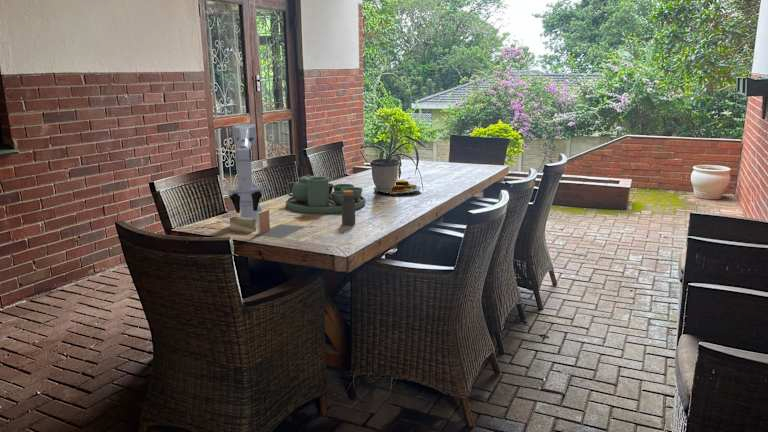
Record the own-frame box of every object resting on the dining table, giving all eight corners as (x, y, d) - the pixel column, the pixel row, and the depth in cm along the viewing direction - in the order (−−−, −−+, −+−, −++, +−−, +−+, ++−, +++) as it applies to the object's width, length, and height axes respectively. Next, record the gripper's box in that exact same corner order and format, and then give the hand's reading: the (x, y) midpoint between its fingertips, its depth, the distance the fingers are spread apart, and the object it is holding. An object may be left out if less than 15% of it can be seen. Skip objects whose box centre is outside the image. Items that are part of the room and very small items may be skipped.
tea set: (376, 210, 297) (376, 177, 294) (296, 217, 283) (295, 182, 279) (350, 196, 333) (349, 166, 330) (278, 202, 319) (277, 171, 315)
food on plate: (399, 198, 325) (398, 186, 323) (367, 193, 342) (367, 181, 341) (430, 192, 342) (430, 181, 340) (399, 187, 359) (399, 176, 358)
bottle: (355, 222, 270) (354, 189, 267) (355, 225, 265) (354, 192, 261) (342, 222, 270) (341, 189, 267) (341, 225, 264) (341, 192, 261)
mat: (280, 225, 266) (280, 224, 266) (306, 228, 261) (306, 226, 261) (254, 236, 248) (254, 234, 248) (281, 239, 243) (281, 237, 243)
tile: (267, 230, 255) (266, 209, 253) (270, 230, 255) (268, 209, 253) (258, 234, 249) (256, 212, 247) (260, 234, 248) (259, 213, 246)
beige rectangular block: (234, 230, 259) (233, 216, 258) (256, 232, 255) (255, 218, 254) (230, 231, 257) (229, 217, 255) (252, 233, 252) (251, 219, 251)
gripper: (232, 179, 235) (234, 214, 237) (265, 177, 244) (267, 210, 246) (224, 179, 240) (226, 212, 242) (257, 176, 249) (259, 209, 251)
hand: (246, 211), depth 244 cm, fingers open, 7 cm apart
